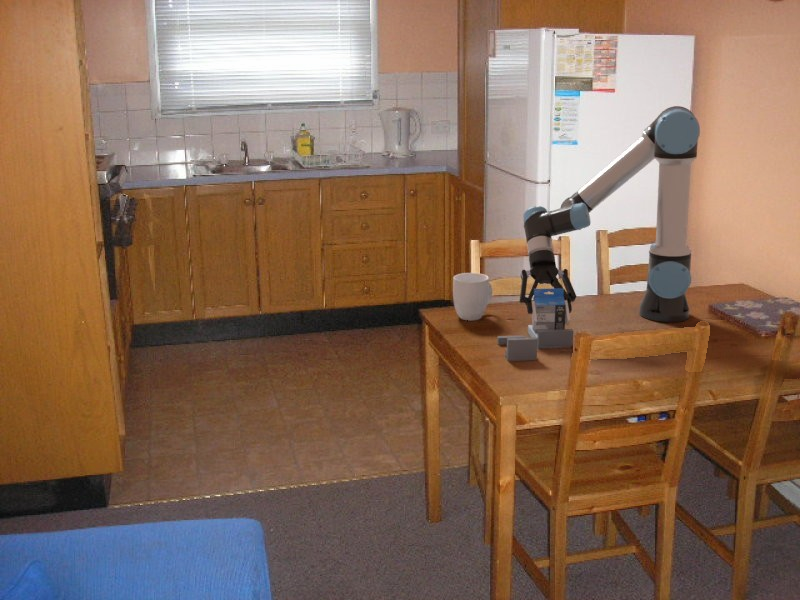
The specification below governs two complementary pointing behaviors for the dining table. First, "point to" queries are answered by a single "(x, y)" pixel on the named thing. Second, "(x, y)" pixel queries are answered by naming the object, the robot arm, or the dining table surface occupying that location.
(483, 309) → the mug
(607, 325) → the dining table surface
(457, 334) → the dining table surface
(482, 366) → the dining table surface
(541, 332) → the dock
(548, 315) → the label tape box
